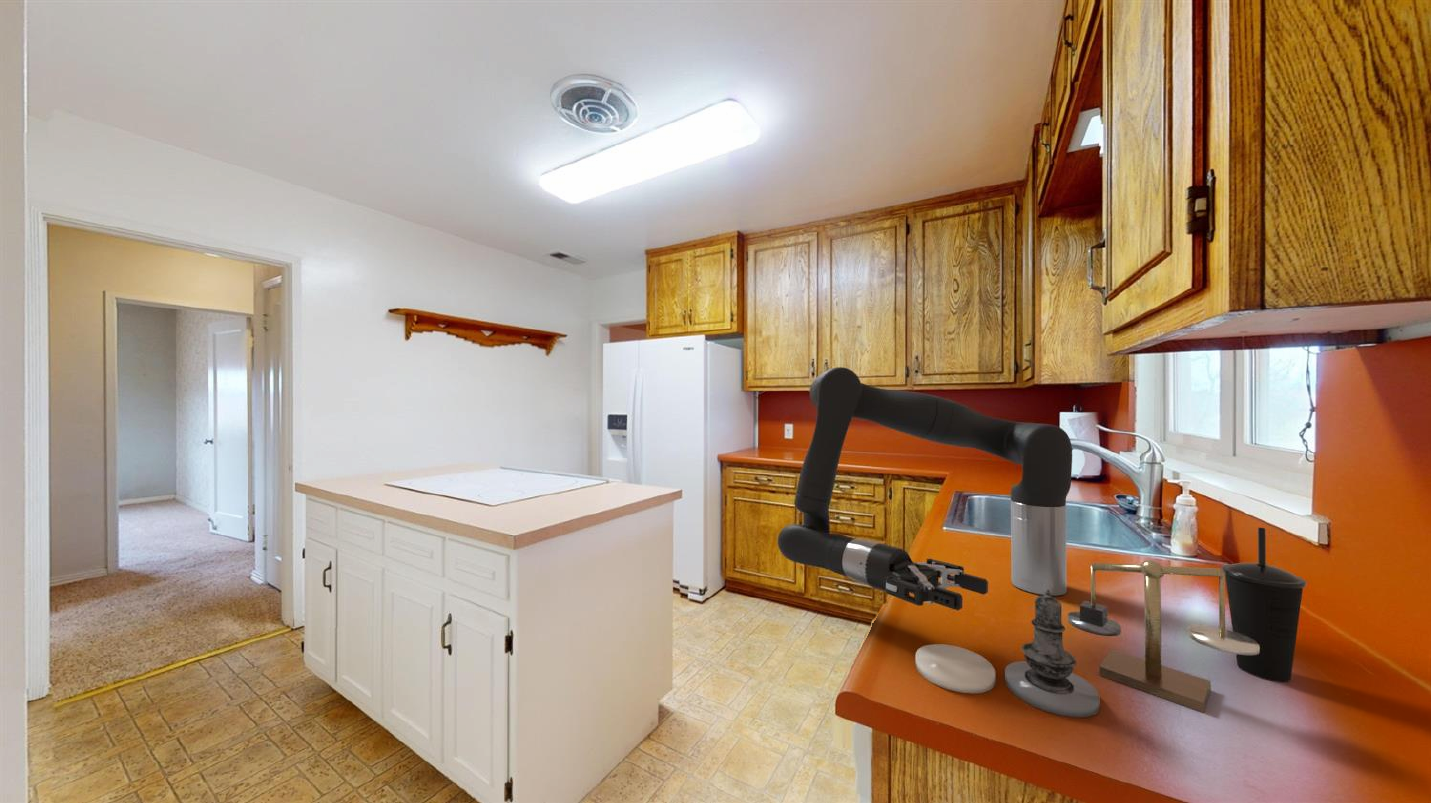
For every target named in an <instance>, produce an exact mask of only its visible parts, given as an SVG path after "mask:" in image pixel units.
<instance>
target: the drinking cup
mask: <svg viewBox="0 0 1431 803" xmlns="http://www.w3.org/2000/svg"><path fill="white" fill-rule="evenodd" d="M1266 537H1267V536H1266V528H1265V527H1258V528H1257V545H1258V546H1257V547H1258V548H1257V553H1258V554H1257V559H1258V561H1257V562H1238V563H1237V562H1236V563H1232V564H1230V563H1228V564H1225V565H1222V566H1221V570H1222V572H1223V573H1225V587H1226V592H1227V599H1228V600H1227V601H1228V607H1229V608H1228V609H1229V614H1230V621H1231V630H1232V631H1234V632H1237V633H1239V634H1242V635H1245V636H1247V637H1249V638H1251V639H1253V640H1255V641H1256V642H1257V643H1258V644H1259V645H1260V653H1259V654H1257V655H1238V654H1235V657H1236V664H1237V667H1238V668H1239V669H1241V670H1242V671H1244V672H1246V673H1247V674H1249V675H1251V676H1255V677H1257V678H1261V679H1264V680H1268V681H1273V682H1280V683H1288V682H1290V681H1291V680H1292V679H1291V678H1292V674H1293V673H1292V672H1293V665H1294V657H1295V649H1296V643H1297V642H1296V641H1297V636H1298V635H1297V634H1298V628H1299V621H1300V612H1301V605H1302V598H1303V590H1304V588H1306V587H1307V580H1305V579H1304V578H1302V577H1300V576H1297V575H1295V574H1293V573H1291V572H1289V571H1287V570H1284V569H1282V568H1279V567H1276V566H1272V565H1269V564H1267V562H1266V561H1267V560H1266V559H1267V558H1266V557H1267V554H1266V552H1267V550H1266V549H1267V548H1266V547H1267V546H1266V539H1267V538H1266Z"/></svg>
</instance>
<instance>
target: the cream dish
mask: <svg viewBox="0 0 1431 803" xmlns="http://www.w3.org/2000/svg"><path fill="white" fill-rule="evenodd" d="M914 657H915V668H916V670H917V672H918V673H919V674H920V675H921V676H922V677H923V678H925V680H927V681H929V682H931V683H933V684H934V685H936V686H938V687H940V688H943V689H946V690H949V691H953V692H957V693H962V694H982V693H983V694H984V693H987V692H989V691H991V690H992V689H993V688H995V686H996V669H995V668H994V665H993V664H992V663H991V662H990V661H988V660H987V659H986V658H984V657H983V656H982V655H980V654H979V653H976V652H974V651H972V650H968V649H966V648H962V647H960V646H955V645H950V644H942V643H941V644H939V643H938V644H937V643H936V644H935V643H933V644H927V645H923V646H921V647H919V648H918V649H917V651H916V652H915V656H914Z"/></svg>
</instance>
